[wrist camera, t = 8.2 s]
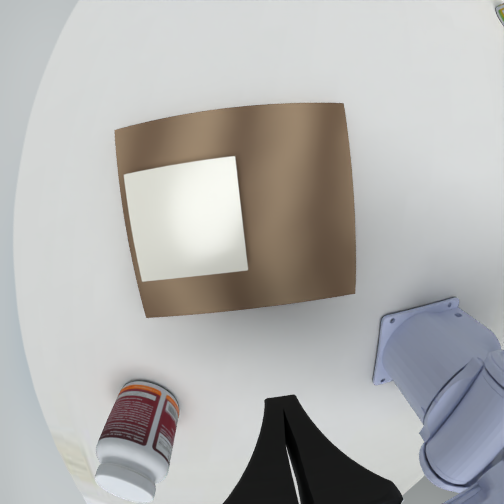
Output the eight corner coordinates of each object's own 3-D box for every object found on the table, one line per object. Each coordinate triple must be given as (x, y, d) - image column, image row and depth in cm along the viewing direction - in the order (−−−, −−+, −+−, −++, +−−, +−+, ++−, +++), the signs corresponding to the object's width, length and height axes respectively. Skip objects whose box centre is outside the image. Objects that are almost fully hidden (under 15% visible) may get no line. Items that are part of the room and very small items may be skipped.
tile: (235, 156, 16) (123, 174, 16) (248, 270, 18) (142, 281, 17) (235, 158, 17) (133, 174, 17) (247, 262, 19) (149, 273, 19)
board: (338, 106, 18) (343, 103, 17) (350, 288, 21) (355, 293, 20) (119, 132, 17) (114, 130, 16) (149, 312, 21) (146, 317, 20)
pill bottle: (112, 398, 23) (76, 478, 13) (136, 368, 22) (95, 460, 12) (162, 428, 25) (143, 511, 14) (192, 402, 24) (177, 498, 13)
